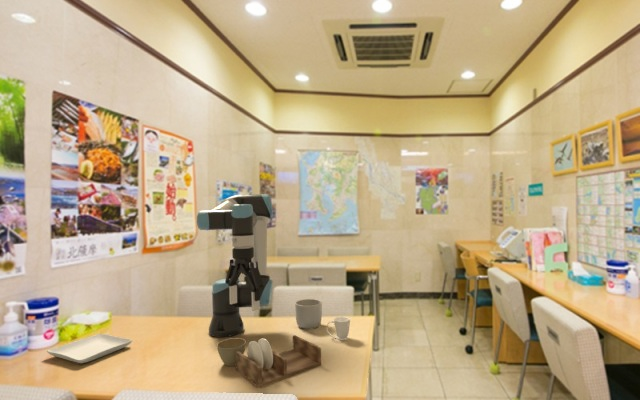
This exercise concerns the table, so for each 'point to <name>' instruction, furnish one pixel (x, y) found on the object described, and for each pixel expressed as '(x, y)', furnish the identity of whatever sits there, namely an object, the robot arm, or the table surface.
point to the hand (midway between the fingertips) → (244, 306)
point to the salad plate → (90, 348)
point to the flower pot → (230, 350)
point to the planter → (308, 313)
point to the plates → (261, 353)
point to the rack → (281, 363)
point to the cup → (341, 327)
